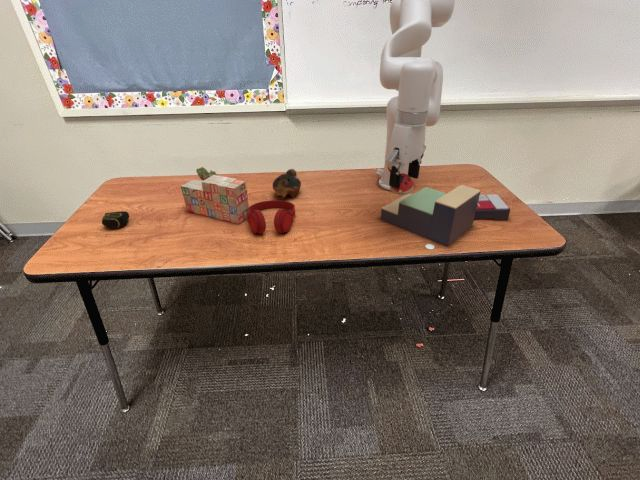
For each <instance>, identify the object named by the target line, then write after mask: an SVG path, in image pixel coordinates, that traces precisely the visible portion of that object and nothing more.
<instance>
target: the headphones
mask: <svg viewBox="0 0 640 480" xmlns="http://www.w3.org/2000/svg"><path fill="white" fill-rule="evenodd" d="M266 209H278V210H277V211H276V213H275V214H274V218H273V226H274V230H275V231H276V232H277V233H280V234H281V233H282V234H283V233H288V232H289V231H290V230H291V227H292V224H293V222H294V218H296V205H295V204H294V203H293V202H290V201H287V200H282V199H278V200H277V199H274V200H272V199H271V200H264V201H259V202H256V203H254V204H251V205H250V206H249V208H248V211H247V218H246V219H245V220H246V221H248V224H249V227H250V230H251V232H252V233H253V234H257V235H260V234H261V235H262V234H263V233H265V232H266V228H267V222H266V218H265V216H264V213H263V212H262V211H261V210H266Z"/></svg>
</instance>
